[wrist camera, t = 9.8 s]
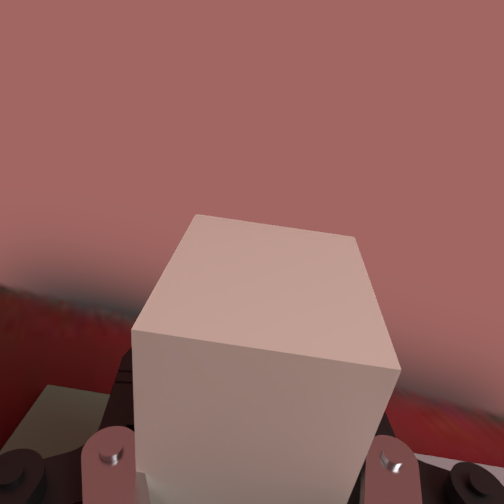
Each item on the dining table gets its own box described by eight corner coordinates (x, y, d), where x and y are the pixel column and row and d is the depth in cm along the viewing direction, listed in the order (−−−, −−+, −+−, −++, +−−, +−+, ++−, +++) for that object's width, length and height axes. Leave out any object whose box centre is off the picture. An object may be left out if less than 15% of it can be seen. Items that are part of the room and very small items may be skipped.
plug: (141, 635, 12) (131, 329, 6) (189, 445, 18) (206, 195, 12) (283, 659, 12) (401, 369, 6) (285, 460, 18) (347, 216, 12)
